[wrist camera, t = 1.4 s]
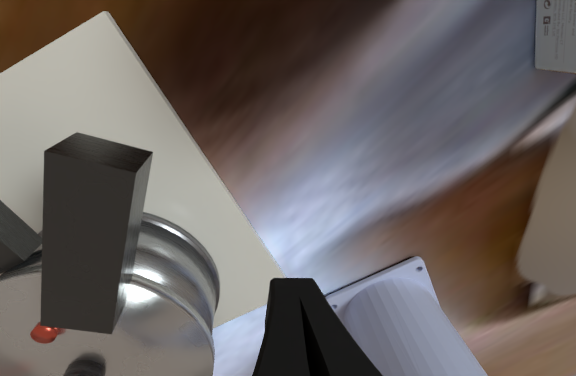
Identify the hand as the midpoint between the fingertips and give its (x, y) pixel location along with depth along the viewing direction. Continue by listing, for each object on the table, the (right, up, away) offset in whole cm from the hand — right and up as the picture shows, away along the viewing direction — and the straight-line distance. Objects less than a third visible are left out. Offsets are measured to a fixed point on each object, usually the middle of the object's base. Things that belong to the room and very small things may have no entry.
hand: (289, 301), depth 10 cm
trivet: (-12, 0, +10) cm, 15 cm away
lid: (-10, -4, +6) cm, 12 cm away
